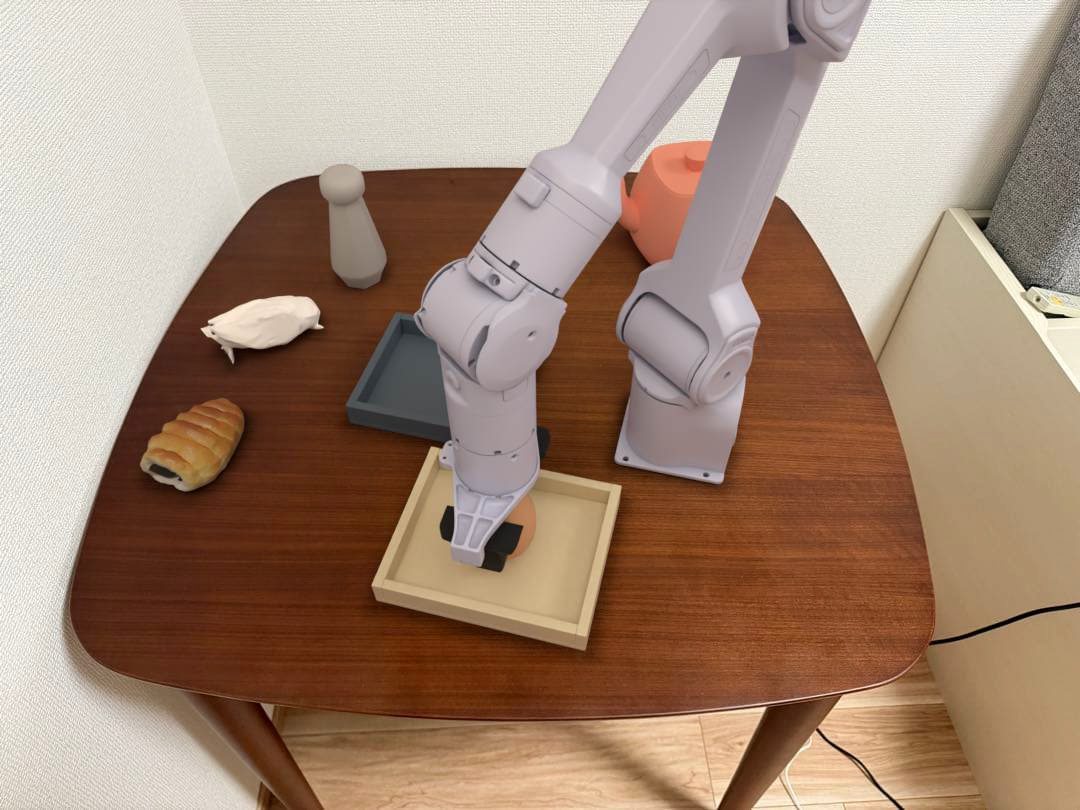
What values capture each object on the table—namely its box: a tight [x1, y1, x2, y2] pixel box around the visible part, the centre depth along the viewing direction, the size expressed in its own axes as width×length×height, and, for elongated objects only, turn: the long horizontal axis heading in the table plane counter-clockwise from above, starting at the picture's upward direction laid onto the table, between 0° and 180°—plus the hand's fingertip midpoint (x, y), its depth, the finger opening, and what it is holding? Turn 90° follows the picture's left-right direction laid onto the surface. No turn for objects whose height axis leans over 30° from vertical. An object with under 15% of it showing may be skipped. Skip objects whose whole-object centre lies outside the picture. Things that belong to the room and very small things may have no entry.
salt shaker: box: [318, 163, 388, 290], centre depth 83 cm, size 6×6×13 cm
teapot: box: [617, 140, 712, 266], centre depth 86 cm, size 13×20×12 cm, turn 100°
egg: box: [504, 493, 536, 561], centre depth 63 cm, size 6×6×8 cm
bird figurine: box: [200, 295, 325, 364], centre depth 80 cm, size 5×7×10 cm
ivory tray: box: [370, 446, 623, 652], centre depth 65 cm, size 17×14×2 cm
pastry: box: [139, 397, 245, 493], centre depth 72 cm, size 9×7×4 cm
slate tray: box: [345, 311, 452, 444], centre depth 77 cm, size 15×13×2 cm
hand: (501, 531), depth 64 cm, fingers closed on egg, 6 cm apart
